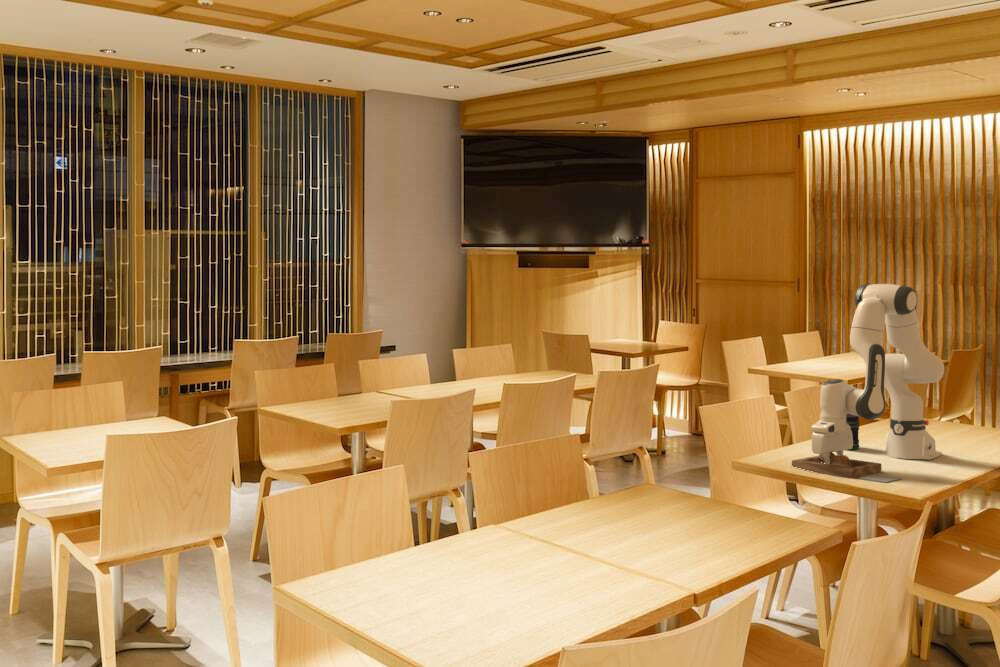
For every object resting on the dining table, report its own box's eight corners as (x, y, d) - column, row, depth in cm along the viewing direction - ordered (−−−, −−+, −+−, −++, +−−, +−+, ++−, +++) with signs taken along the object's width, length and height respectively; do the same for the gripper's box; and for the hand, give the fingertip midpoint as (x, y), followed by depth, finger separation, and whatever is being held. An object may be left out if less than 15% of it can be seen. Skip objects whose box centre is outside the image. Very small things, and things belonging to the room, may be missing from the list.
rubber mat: (874, 475, 329) (874, 474, 329) (901, 479, 321) (902, 478, 321) (858, 478, 323) (858, 477, 323) (885, 483, 315) (885, 481, 315)
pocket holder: (821, 463, 354) (821, 455, 354) (881, 472, 335) (881, 463, 335) (791, 468, 343) (791, 460, 343) (851, 478, 324) (851, 469, 324)
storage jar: (862, 455, 371) (863, 416, 370) (837, 455, 371) (837, 416, 371) (853, 451, 381) (854, 413, 380) (829, 451, 381) (829, 413, 380)
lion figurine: (819, 470, 340) (819, 449, 339) (819, 468, 344) (819, 447, 343) (854, 472, 335) (854, 451, 335) (854, 469, 339) (855, 449, 339)
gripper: (842, 421, 348) (841, 459, 349) (808, 427, 336) (808, 466, 336) (857, 423, 343) (857, 461, 344) (824, 428, 331) (824, 468, 331)
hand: (832, 464), depth 340 cm, fingers closed on lion figurine, 4 cm apart
